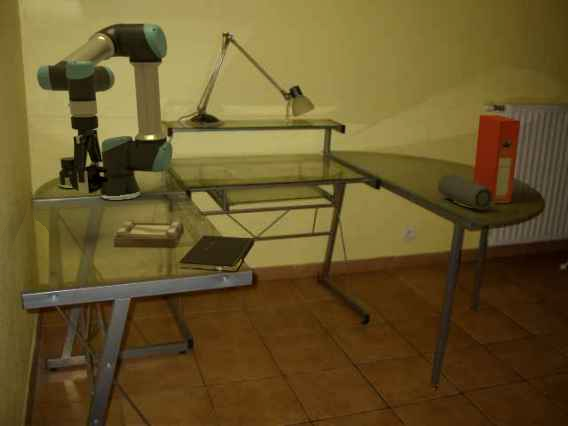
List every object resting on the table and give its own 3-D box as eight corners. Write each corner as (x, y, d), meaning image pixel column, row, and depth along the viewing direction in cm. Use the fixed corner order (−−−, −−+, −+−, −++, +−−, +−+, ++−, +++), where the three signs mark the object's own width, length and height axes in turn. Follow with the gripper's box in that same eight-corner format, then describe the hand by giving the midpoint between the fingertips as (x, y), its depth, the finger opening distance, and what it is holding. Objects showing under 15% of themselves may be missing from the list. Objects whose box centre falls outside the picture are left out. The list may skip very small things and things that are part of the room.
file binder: (490, 204, 224) (500, 120, 215) (471, 193, 241) (479, 115, 232) (510, 203, 225) (521, 120, 216) (490, 192, 242) (499, 115, 233)
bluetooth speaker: (492, 211, 214) (495, 185, 211) (471, 214, 211) (474, 187, 208) (455, 196, 235) (457, 172, 232) (435, 198, 232) (437, 173, 229)
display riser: (128, 229, 189) (127, 218, 188) (183, 230, 189) (183, 218, 188) (114, 246, 174) (113, 233, 173) (174, 247, 174) (174, 234, 173)
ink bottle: (69, 190, 236) (66, 161, 233) (55, 187, 241) (52, 159, 238) (88, 186, 244) (85, 157, 241) (74, 183, 249) (71, 155, 245)
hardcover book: (179, 269, 158) (178, 261, 158) (203, 242, 180) (203, 235, 180) (236, 273, 156) (236, 265, 155) (254, 245, 178) (254, 238, 177)
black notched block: (89, 184, 182) (87, 163, 180) (109, 186, 181) (107, 164, 179) (70, 192, 173) (68, 169, 171) (91, 193, 171) (89, 171, 169)
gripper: (84, 110, 182) (90, 178, 188) (55, 120, 160) (63, 197, 166) (108, 110, 182) (113, 179, 188) (83, 120, 159) (89, 198, 166)
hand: (90, 188), depth 177 cm, fingers closed on black notched block, 11 cm apart
